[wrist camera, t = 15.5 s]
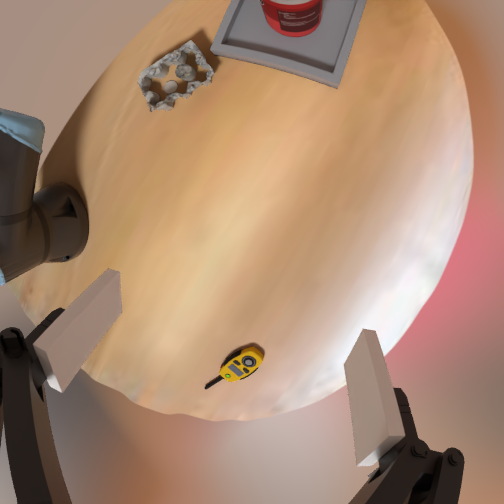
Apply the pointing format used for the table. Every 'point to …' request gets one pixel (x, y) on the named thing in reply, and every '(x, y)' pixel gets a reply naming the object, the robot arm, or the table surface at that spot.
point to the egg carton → (182, 72)
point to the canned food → (292, 16)
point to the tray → (291, 40)
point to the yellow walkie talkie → (240, 365)
